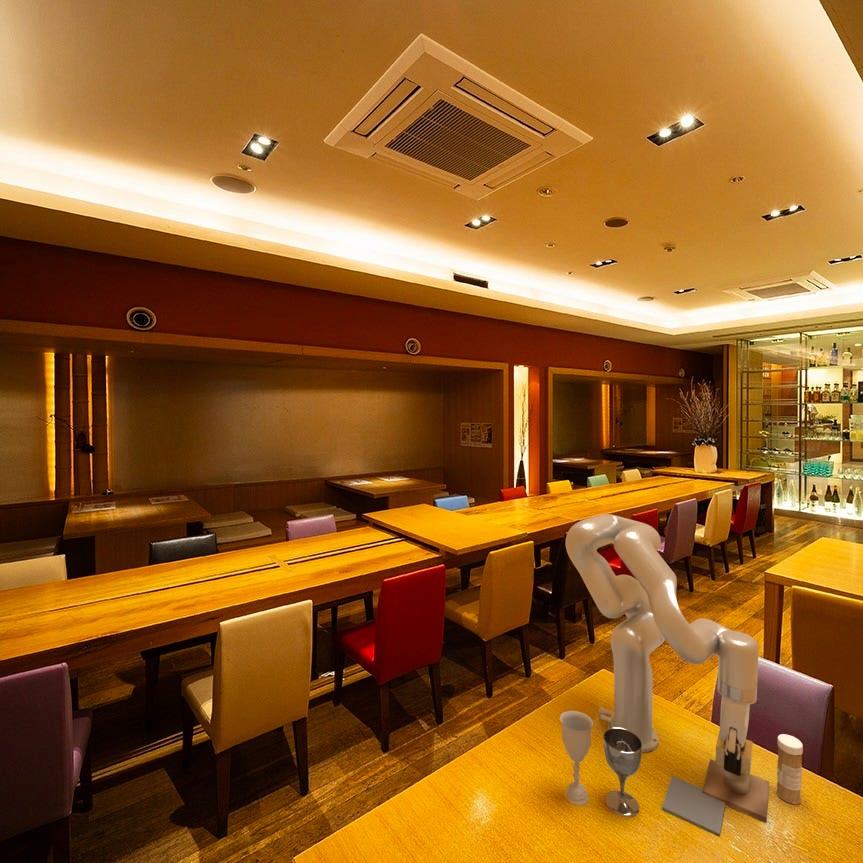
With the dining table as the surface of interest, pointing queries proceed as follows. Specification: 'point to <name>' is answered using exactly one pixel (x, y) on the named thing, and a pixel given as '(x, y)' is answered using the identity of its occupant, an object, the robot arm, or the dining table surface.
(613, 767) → the wine glass
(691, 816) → the mat
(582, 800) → the chalice
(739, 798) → the stand
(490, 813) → the dining table surface
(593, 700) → the dining table surface
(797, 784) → the sprinkles bottle
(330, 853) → the dining table surface
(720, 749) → the c link
